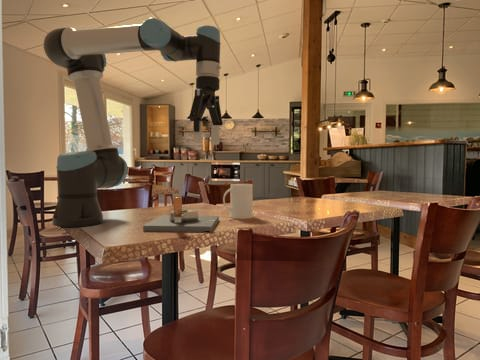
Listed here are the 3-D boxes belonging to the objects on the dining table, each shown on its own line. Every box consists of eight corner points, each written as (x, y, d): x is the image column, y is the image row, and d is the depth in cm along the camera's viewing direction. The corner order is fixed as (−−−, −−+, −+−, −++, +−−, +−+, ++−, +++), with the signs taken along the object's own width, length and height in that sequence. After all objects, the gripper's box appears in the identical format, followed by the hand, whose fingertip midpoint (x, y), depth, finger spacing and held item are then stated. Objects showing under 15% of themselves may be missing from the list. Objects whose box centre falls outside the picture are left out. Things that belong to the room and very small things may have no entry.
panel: (143, 231, 107) (143, 225, 107) (161, 219, 127) (161, 214, 127) (211, 232, 106) (211, 226, 106) (218, 220, 126) (218, 215, 126)
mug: (227, 220, 126) (227, 185, 126) (217, 216, 134) (217, 184, 133) (257, 218, 132) (257, 184, 131) (246, 214, 139) (246, 183, 139)
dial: (173, 216, 121) (173, 192, 121) (200, 217, 121) (200, 193, 120) (161, 225, 107) (161, 197, 106) (192, 225, 106) (192, 198, 106)
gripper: (201, 67, 105) (200, 142, 106) (232, 84, 128) (231, 145, 130) (178, 69, 107) (177, 142, 108) (212, 85, 131) (211, 145, 132)
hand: (206, 143), depth 119 cm, fingers open, 13 cm apart
